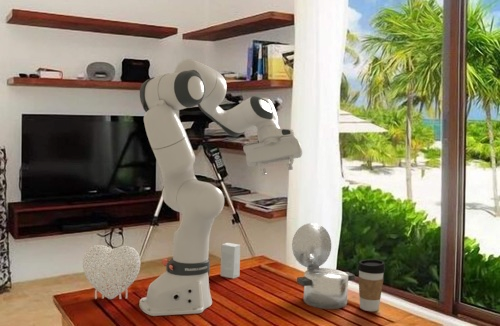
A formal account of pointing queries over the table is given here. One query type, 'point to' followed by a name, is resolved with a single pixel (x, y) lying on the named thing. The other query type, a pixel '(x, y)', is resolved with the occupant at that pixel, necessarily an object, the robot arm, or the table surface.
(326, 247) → the lid
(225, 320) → the table surface
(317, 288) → the cooker pot
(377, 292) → the coffee cup
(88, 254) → the decorative heart
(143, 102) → the robot arm
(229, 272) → the skincare box
